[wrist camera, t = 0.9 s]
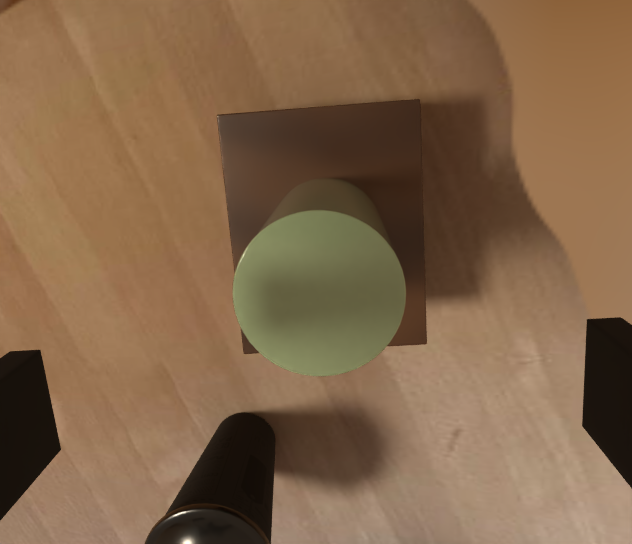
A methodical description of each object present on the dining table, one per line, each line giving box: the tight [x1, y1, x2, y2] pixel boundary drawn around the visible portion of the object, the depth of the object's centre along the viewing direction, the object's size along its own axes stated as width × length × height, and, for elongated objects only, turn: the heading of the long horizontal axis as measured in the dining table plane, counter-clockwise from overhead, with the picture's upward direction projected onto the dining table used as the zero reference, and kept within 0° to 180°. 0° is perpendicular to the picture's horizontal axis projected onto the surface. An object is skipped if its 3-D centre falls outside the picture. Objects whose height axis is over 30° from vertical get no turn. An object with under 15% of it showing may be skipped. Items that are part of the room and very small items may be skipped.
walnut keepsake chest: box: [217, 99, 427, 354], centre depth 37 cm, size 14×11×9 cm
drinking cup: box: [145, 413, 275, 544], centre depth 37 cm, size 8×8×20 cm
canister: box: [233, 178, 406, 376], centre depth 27 cm, size 6×6×12 cm
